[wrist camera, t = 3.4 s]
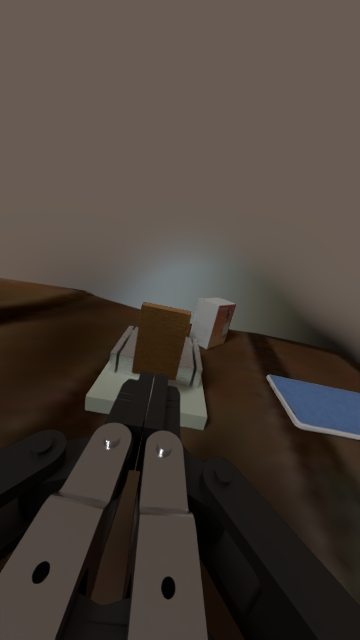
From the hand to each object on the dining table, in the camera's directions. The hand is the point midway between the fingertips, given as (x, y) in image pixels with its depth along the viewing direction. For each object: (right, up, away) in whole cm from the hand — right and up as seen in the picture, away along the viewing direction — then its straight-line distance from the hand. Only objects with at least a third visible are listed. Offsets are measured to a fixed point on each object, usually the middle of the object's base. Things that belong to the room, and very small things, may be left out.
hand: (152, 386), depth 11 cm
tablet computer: (+27, -12, +23) cm, 37 cm away
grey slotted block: (-2, -3, +21) cm, 22 cm away
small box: (+8, -2, +38) cm, 39 cm away
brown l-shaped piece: (-1, -1, +18) cm, 18 cm away
